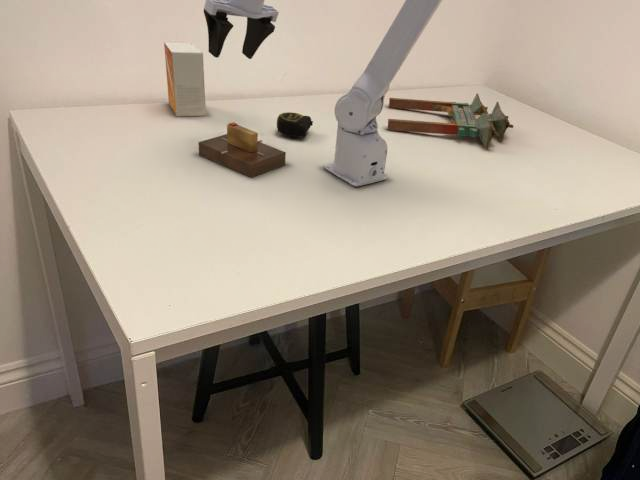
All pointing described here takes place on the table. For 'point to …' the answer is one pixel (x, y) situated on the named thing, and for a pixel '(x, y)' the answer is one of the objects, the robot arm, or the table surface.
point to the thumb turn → (242, 137)
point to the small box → (185, 78)
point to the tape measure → (293, 124)
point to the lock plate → (242, 156)
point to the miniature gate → (454, 119)
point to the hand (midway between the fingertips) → (230, 55)
